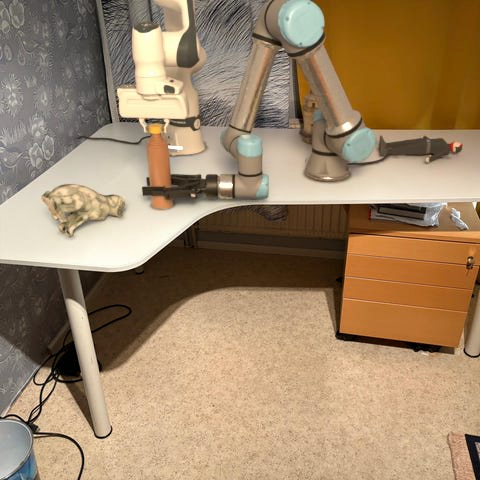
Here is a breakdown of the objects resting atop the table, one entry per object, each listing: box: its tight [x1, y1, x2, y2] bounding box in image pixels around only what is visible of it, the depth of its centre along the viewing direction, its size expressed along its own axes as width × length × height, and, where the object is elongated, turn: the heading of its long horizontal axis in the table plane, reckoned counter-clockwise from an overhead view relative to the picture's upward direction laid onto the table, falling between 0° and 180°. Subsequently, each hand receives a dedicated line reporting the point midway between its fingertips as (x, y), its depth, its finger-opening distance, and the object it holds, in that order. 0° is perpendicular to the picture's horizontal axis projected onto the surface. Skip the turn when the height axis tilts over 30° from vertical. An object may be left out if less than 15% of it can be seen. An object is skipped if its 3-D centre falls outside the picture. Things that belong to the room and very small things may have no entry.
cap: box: [148, 122, 164, 135], centre depth 157 cm, size 4×4×2 cm
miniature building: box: [298, 88, 320, 144], centre depth 213 cm, size 13×14×30 cm
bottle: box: [145, 133, 174, 210], centre depth 163 cm, size 7×7×25 cm
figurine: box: [40, 183, 126, 238], centre depth 153 cm, size 10×19×20 cm
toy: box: [378, 134, 464, 163], centre depth 203 cm, size 26×6×30 cm
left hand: (156, 132), depth 158 cm, fingers closed on cap, 4 cm apart
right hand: (144, 186), depth 166 cm, fingers closed on bottle, 7 cm apart
